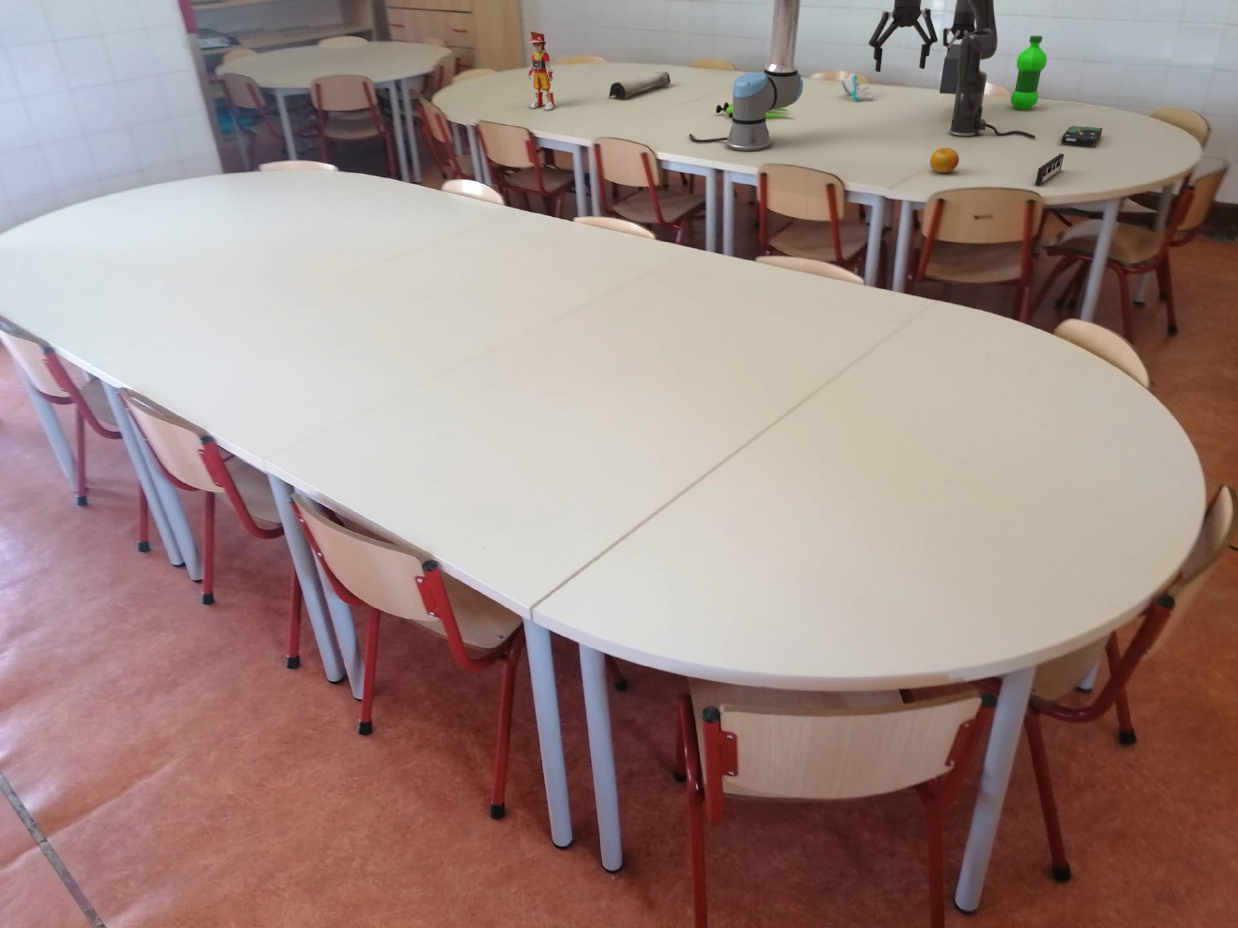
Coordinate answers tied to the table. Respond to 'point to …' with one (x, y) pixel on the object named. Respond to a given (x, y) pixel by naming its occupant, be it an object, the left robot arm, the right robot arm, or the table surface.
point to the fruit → (944, 160)
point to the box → (950, 71)
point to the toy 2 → (730, 111)
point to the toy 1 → (541, 71)
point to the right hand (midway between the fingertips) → (958, 58)
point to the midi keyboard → (1049, 169)
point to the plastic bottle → (1028, 75)
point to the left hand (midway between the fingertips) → (899, 70)
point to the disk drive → (1081, 136)
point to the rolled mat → (638, 84)
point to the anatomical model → (855, 88)
